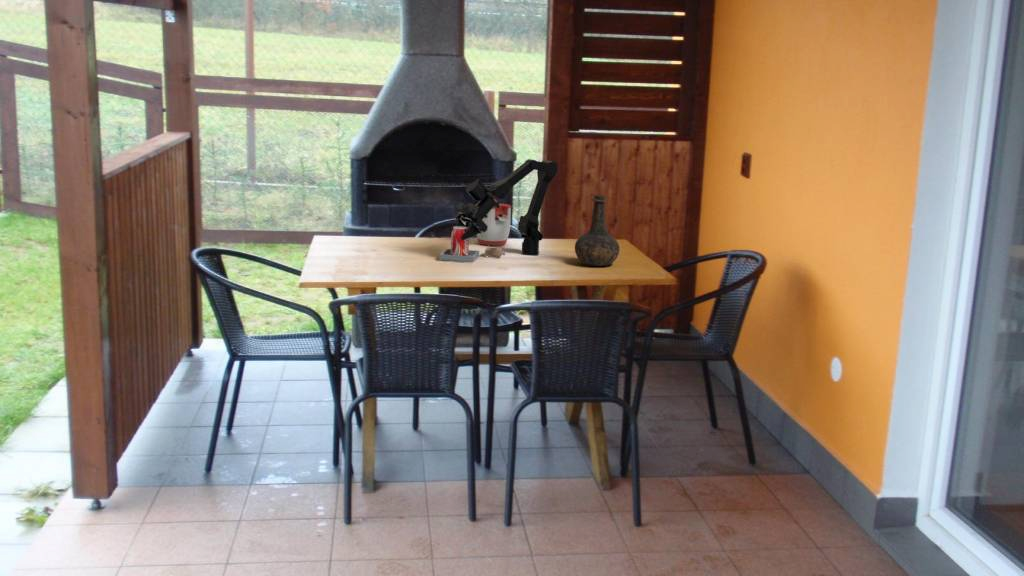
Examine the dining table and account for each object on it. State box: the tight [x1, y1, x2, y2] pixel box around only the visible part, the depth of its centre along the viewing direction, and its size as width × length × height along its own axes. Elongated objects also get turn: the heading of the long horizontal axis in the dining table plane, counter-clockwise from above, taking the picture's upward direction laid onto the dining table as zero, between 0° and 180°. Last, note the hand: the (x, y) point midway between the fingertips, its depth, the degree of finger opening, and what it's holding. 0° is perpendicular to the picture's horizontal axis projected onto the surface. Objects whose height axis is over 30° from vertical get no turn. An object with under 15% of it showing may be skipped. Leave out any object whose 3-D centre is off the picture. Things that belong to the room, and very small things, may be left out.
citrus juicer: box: [474, 198, 512, 247], centre depth 431 cm, size 16×17×20 cm
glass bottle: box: [574, 193, 620, 267], centre depth 395 cm, size 18×18×28 cm
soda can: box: [450, 225, 470, 256], centre depth 398 cm, size 7×7×12 cm
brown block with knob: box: [484, 246, 506, 259], centre depth 408 cm, size 8×9×3 cm
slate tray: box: [439, 248, 480, 263], centre depth 398 cm, size 13×13×2 cm
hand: (457, 237), depth 396 cm, fingers open, 7 cm apart
